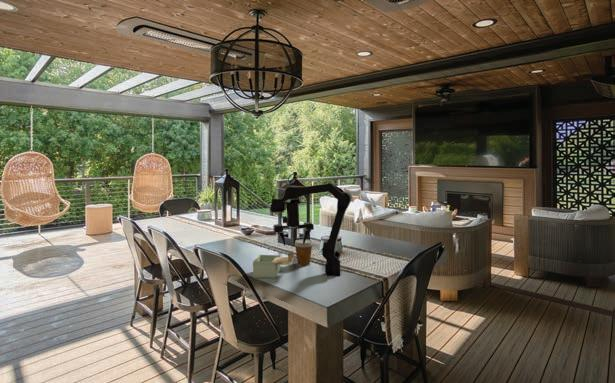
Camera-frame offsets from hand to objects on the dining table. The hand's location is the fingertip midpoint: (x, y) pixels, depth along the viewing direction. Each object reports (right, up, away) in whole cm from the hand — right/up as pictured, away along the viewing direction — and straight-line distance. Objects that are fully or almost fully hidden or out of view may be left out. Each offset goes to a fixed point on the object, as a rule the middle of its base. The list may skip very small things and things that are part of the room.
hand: (294, 244), depth 179 cm
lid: (-5, -7, -5) cm, 10 cm away
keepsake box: (-13, -13, -3) cm, 19 cm away
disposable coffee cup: (+4, -12, +13) cm, 18 cm away
